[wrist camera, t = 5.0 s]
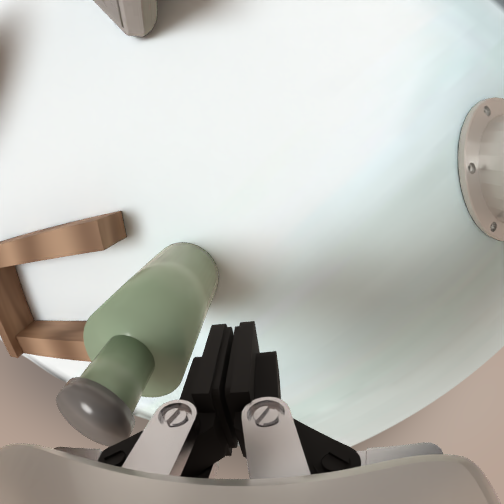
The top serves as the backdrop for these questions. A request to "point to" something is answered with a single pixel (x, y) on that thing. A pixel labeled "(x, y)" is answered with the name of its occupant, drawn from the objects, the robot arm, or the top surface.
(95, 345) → the bottle
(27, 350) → the rest
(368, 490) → the robot arm
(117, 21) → the digital clock
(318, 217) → the top surface
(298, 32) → the top surface
